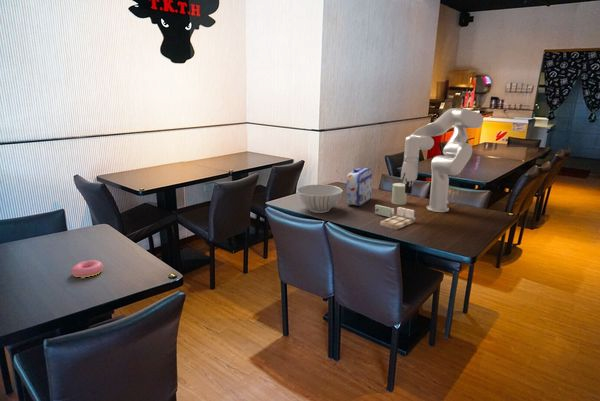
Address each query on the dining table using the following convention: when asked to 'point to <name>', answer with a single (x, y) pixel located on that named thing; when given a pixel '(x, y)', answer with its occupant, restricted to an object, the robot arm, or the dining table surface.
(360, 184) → the lunch box
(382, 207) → the rack door
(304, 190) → the decorative bowl
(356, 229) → the dining table surface
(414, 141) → the robot arm
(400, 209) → the fader
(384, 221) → the console board
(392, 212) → the hinge post
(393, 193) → the can
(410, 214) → the fader
